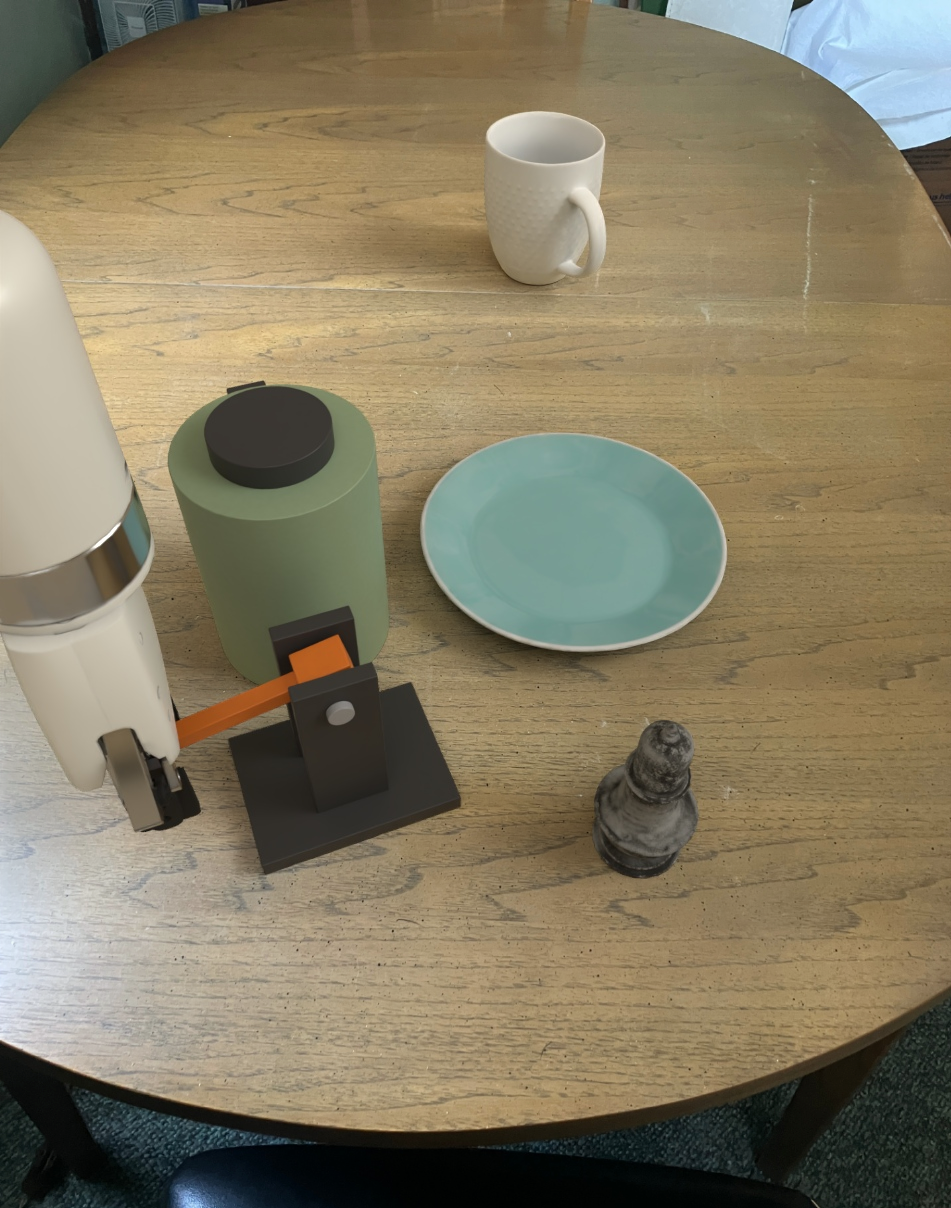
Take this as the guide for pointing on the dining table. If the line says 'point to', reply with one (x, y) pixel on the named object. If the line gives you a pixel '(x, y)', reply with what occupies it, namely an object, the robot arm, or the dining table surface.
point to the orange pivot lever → (262, 694)
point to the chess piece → (647, 804)
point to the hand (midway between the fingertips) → (160, 770)
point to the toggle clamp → (338, 756)
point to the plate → (573, 542)
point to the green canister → (282, 516)
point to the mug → (544, 195)
